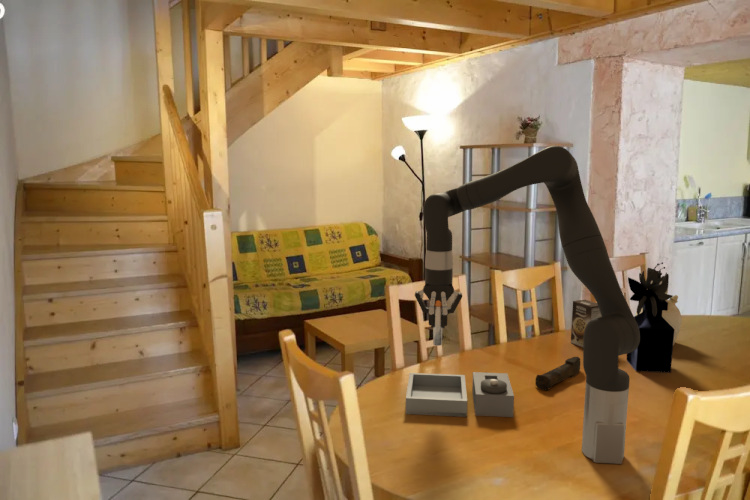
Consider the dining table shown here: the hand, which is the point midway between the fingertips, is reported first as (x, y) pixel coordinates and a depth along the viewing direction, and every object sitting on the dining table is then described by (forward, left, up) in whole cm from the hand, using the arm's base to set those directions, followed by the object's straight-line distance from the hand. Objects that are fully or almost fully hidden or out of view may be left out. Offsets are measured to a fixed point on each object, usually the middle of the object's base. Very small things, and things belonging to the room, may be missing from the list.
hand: (437, 326), depth 160 cm
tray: (0, 0, -22) cm, 22 cm away
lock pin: (0, 0, -5) cm, 5 cm away
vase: (+35, -69, -22) cm, 80 cm away
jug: (+61, -81, -22) cm, 104 cm away
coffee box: (+55, -54, -22) cm, 80 cm away
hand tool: (+20, -38, -22) cm, 48 cm away
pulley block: (0, -15, -22) cm, 27 cm away
